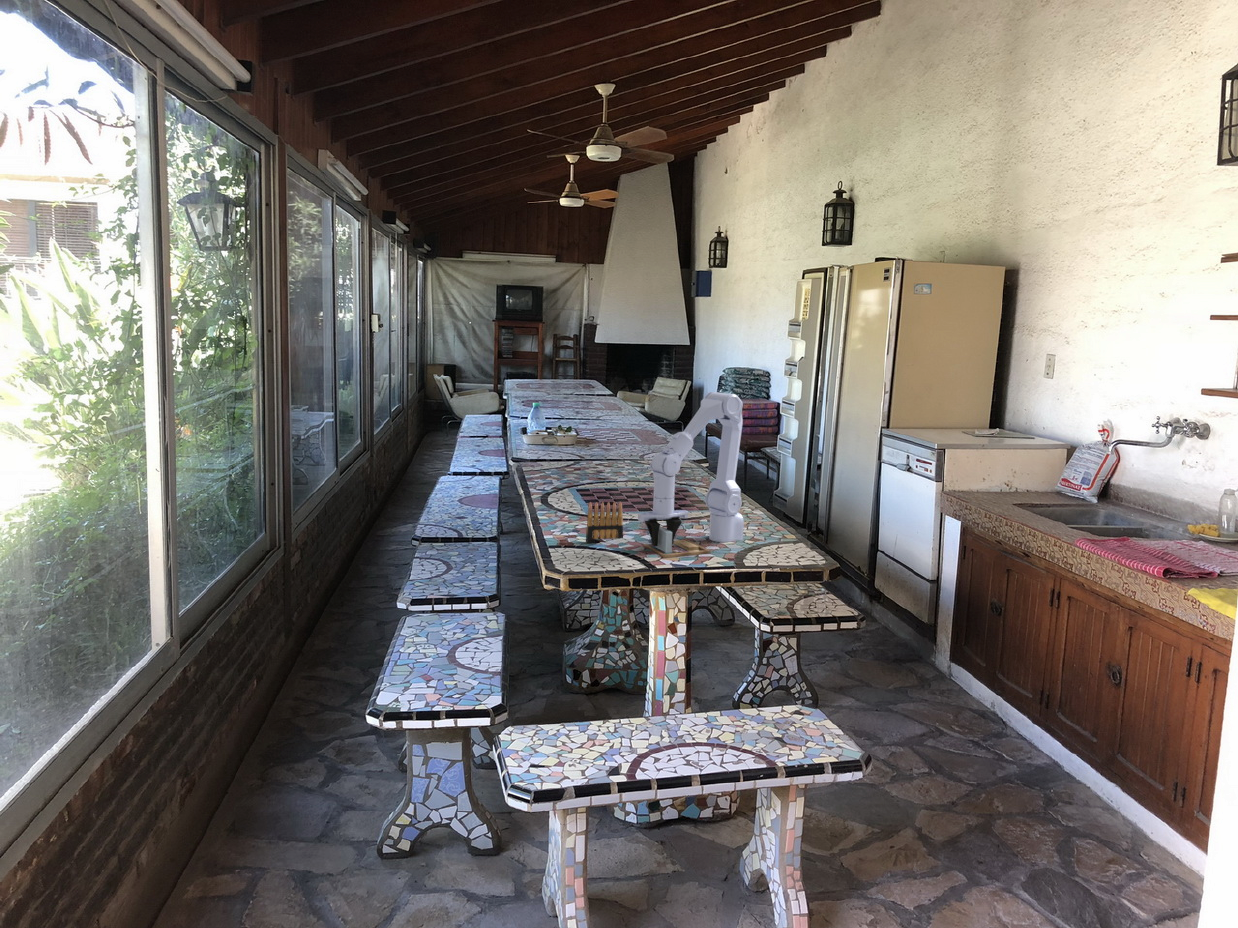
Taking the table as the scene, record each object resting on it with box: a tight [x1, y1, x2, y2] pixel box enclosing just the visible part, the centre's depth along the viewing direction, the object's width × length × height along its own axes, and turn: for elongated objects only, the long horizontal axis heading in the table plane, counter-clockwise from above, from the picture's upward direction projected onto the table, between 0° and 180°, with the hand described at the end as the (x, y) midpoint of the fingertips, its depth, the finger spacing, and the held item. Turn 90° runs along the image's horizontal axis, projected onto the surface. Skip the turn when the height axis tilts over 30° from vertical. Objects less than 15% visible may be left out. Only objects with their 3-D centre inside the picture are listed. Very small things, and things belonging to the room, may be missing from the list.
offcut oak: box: [673, 539, 699, 552], centre depth 243 cm, size 3×8×1 cm, turn 28°
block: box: [654, 525, 673, 554], centre depth 239 cm, size 2×8×7 cm, turn 24°
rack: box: [643, 538, 711, 559], centre depth 240 cm, size 14×14×2 cm
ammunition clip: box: [585, 501, 624, 545], centre depth 249 cm, size 11×2×12 cm, turn 103°
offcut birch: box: [680, 547, 701, 552], centre depth 243 cm, size 3×10×1 cm, turn 24°
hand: (662, 544), depth 240 cm, fingers open, 4 cm apart
